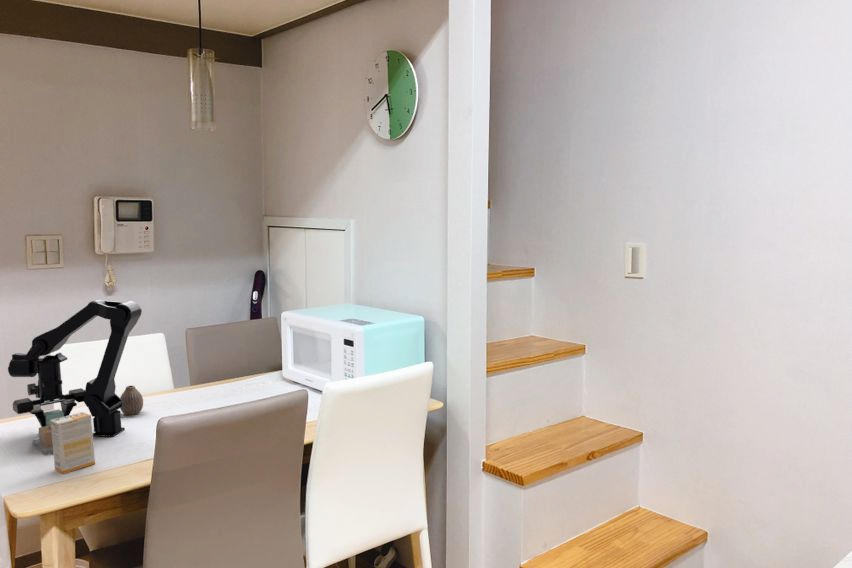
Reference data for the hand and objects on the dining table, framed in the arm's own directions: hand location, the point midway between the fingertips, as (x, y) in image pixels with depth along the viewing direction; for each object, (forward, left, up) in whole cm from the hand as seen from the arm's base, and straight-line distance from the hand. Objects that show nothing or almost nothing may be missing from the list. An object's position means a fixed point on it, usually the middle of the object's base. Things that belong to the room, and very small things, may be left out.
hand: (53, 429), depth 202 cm
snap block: (0, 0, -1) cm, 1 cm away
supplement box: (-22, +24, -1) cm, 32 cm away
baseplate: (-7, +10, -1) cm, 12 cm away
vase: (-13, -19, -1) cm, 23 cm away
